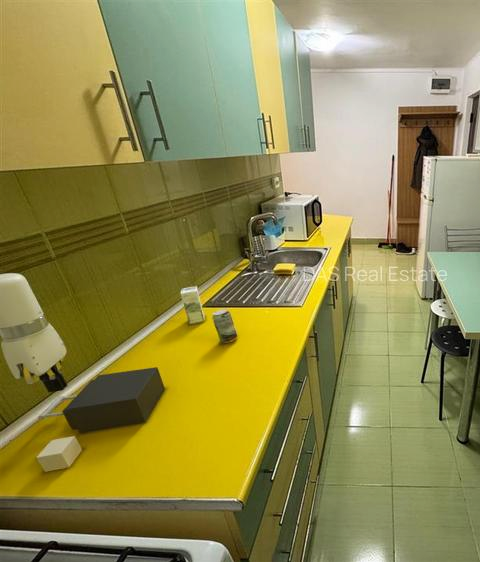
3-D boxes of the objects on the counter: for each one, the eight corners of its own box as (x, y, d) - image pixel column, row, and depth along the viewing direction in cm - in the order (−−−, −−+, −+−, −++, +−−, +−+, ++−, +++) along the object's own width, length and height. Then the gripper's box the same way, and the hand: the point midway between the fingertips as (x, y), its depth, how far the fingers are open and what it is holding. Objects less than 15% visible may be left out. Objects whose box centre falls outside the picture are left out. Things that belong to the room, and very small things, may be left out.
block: (45, 472, 66) (36, 457, 65) (59, 453, 71) (51, 439, 69) (69, 467, 67) (61, 453, 66) (82, 449, 71) (74, 435, 70)
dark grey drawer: (37, 436, 74) (25, 417, 72) (69, 402, 84) (60, 384, 82) (133, 420, 78) (125, 401, 76) (152, 389, 88) (146, 372, 86)
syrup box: (204, 315, 131) (196, 285, 126) (204, 322, 127) (196, 290, 121) (189, 319, 129) (180, 288, 123) (189, 325, 124) (180, 293, 119)
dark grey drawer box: (79, 433, 76) (66, 409, 73) (108, 397, 87) (98, 375, 84) (145, 422, 79) (135, 398, 75) (165, 389, 90) (157, 366, 87)
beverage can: (229, 346, 110) (222, 317, 105) (213, 342, 112) (206, 314, 108) (242, 337, 115) (236, 309, 111) (226, 333, 118) (220, 306, 113)
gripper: (30, 313, 76) (62, 372, 83) (-28, 347, 62) (15, 414, 69) (66, 309, 77) (93, 368, 84) (16, 342, 64) (54, 408, 71)
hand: (58, 389), depth 77 cm, fingers closed
